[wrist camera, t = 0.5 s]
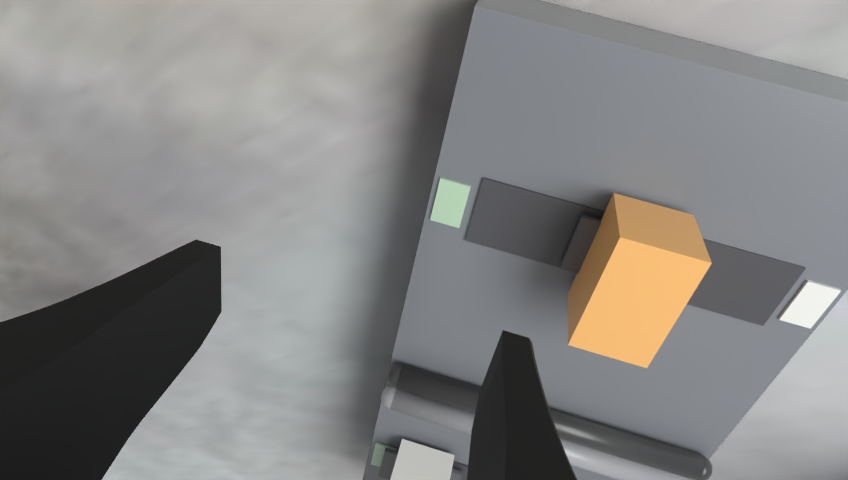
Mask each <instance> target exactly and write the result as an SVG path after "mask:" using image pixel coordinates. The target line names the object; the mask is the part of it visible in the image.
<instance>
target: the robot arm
mask: <svg viewBox="0 0 848 480" xmlns="http://www.w3.org/2000/svg"><path fill="white" fill-rule="evenodd" d="M220 313H221V247H219V246H216V245H213V244H209V243H206V242H202V241H199V240H195V241H192V242H190V243H188V244H186V245H184V246H182V247H179V248H177V249H175V250H173V251H171V252H169V253H167V254H165V255H163V256H161V257H159V258H157V259H155V260H153V261H151V262H149V263H147V264H145V265H143V266H140V267H138V268H136V269H134V270H132V271H130V272H128V273H126V274H124V275H121V276H119V277H117V278H115V279H113V280H111V281H108V282H106V283H104V284H101V285H99V286H97V287H94V288H92V289H90V290H87V291H85V292H83V293H80V294H78V295H76V296H73V297H71V298H69V299H66V300H64V301H61V302H58V303H56V304H53V305H50V306H48V307H45V308H42V309H40V310H37V311H34V312H31V313H28V314H25V315H22V316H19V317H16V318H13V319H10V320H7V321H4V322H0V480H102V478H103V476H104V475H105V473H106V472H107V470H108V469H109V467H110V466H111V464H112V463H113V461H114V459H115V458H116V456H117V455H118V453H119V452H120V450H121V449H122V447H123V446H124V444H125V443H126V441H127V439H128V438H129V437H130V435H131V434H132V433H133V431H134V430H135V429H136V427H137V426H138V424H139V423H140V422H141V420H142V419H143V418H144V417H145V415H146V414H147V413H148V412H149V411H150V409H151V408H152V407H153V406H154V404H155V403H156V402H157V401H158V399H159V398H160V397H161V396H162V394H163V393H164V392H165V391H166V389H167V388H168V387H169V386H170V384H171V383H172V382H173V381H174V379H175V378H176V377H177V376H178V374H179V373H180V372H181V371H182V369H183V368H184V367H185V366H186V364H187V363H188V362H189V361H190V359H191V358H192V357H193V355H194V354H195V353H196V352H197V350H198V349H199V348H200V346H201V345H202V343H203V341H204V340H205V338H206V337H207V335H208V333H209V332H210V330H211V328H212V327H213V325H214V323H215V322H216V320H217V318H218V316H219V315H220ZM467 480H577V478H576V476H575V473H574V471H573V469H572V467H571V464H570V462H569V460H568V457H567V455H566V452H565V450H564V447H563V445H562V442H561V440H560V437H559V435H558V432H557V429H556V427H555V424H554V421H553V418H552V415H551V412H550V409H549V406H548V403H547V400H546V397H545V394H544V390H543V387H542V383H541V379H540V376H539V372H538V368H537V364H536V360H535V355H534V350H533V345H532V342H531V340H530V338H528V337H525V336H521V335H518V334H514V333H511V332H508V331H504V330H503V331H502V334H501V336H500V339H499V341H498V344H497V347H496V349H495V352H494V355H493V357H492V360H491V362H490V365H489V368H488V370H487V373H486V376H485V378H484V381H483V383H482V386H481V389H480V393H479V397H478V402H477V407H476V411H475V416H474V421H473V426H472V432H471V442H470V452H469V462H468V473H467Z"/></svg>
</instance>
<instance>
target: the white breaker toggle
mask: <svg viewBox="0 0 848 480" xmlns="http://www.w3.org/2000/svg"><path fill="white" fill-rule="evenodd" d="M454 456H455V455H453V454H449V453H446V452H443V451H440V450H436V449H433V448H430V447H427V446H424V445H420V444H417V443H414V442H411V441H408V440H404V439H402V441H401V444H400V448H399V451H396V450H393V449H390V448H385V451H384V455H383V459H382V463H381V467H380V471H379V474H378V476H379V477H382V478H385V479H388V480H460V479H461V477H462V473H463V471H460V470H457V469H453V468H452V467H453V461H454Z"/></svg>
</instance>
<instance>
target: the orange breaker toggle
mask: <svg viewBox="0 0 848 480" xmlns="http://www.w3.org/2000/svg"><path fill="white" fill-rule="evenodd" d="M711 264H712V262H711V259H710V257H709V254H708V251H707V249H706V246H705V243H704V241H703V238H702V235H701V233H700V230H699V227H698V225H697V222H696V219H695V217H694V215H692V214H688V213H685V212H681V211H677V210H674V209H670V208H667V207H663V206H659V205H656V204H652V203H649V202H645V201H641V200H638V199H634V198H631V197H627V196H623V195H620V194H616V193H613V195H612V197H611V199H610V202H609V204H608V206H607V208H606V210H605V213H604V215H603V217H602V219H601V220H600V219H596V218H593V217H589V216H586V215H581V217H580V220H579V222H578V224H577V227H576V229H575V231H574V234H573V236H572V238H571V241H570V243H569V245H568V248H567V250H566V253H565V255H564V257H563V260H562V262H561V264H560V269H563V270H567V271H570V272H574V273H577V275H576V277H575V279H574V281H573V284H572V286H571V288H570V290H569V292H568V345H570V346H573V347H576V348H580V349H583V350H587V351H590V352H593V353H597V354H600V355H603V356H607V357H610V358H614V359H617V360H620V361H624V362H627V363H631V364H634V365H637V366H641V367H644V368H647V367H648V366H649V364H650V363H651V361H652V359H653V358H654V356H655V354H656V353H657V351H658V350H659V348H660V346H661V345H662V343H663V342H664V340H665V338H666V337H667V335H668V333H669V332H670V330H671V329H672V327H673V325H674V324H675V322H676V320H677V319H678V317H679V316H680V314H681V312H682V311H683V309H684V308H685V306H686V304H687V303H688V301H689V299H690V298H691V296H692V295H693V293H694V291H695V290H696V288H697V287H698V285H699V283H700V282H701V280H702V278H703V277H704V275H705V274H706V272H707V270H708V269H709V267H710V265H711Z"/></svg>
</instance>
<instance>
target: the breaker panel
mask: <svg viewBox="0 0 848 480" xmlns="http://www.w3.org/2000/svg"><path fill="white" fill-rule="evenodd" d="M613 193H616V194H620V195H623V196H627V197H631V198H634V199H638V200H641V201H645V202H649V203H652V204H656V205H659V206H663V207H667V208H670V209H674V210H677V211H681V212H685V213H688V214H692V215H694V217H695V219H696V222H697V225H698V227H699V230H700V233H701V235H702V238H703V241H704V243H705V246H706V249H707V251H708V254H709V257H710V259H711V262H712V264H711V265H710V267H709V269H708V270H707V272H706V274H705V275H704V277H703V278H702V280H701V282H700V283H699V285H698V287H697V288H696V290H695V291H694V293H693V295H692V296H691V298H690V299H689V301H688V303H687V304H686V306H685V308H684V309H683V311H682V312H681V314H680V316H679V317H678V319H677V320H676V322H675V324H674V325H673V327H672V329H671V330H670V332H669V333H668V335H667V337H666V338H665V340H664V342H663V343H662V345H661V346H660V348H659V350H658V351H657V353H656V354H655V356H654V358H653V359H652V361H651V363H650V364H649V366H648V367H647V368H644V367H641V366H637V365H634V364H631V363H627V362H624V361H620V360H617V359H614V358H610V357H607V356H603V355H600V354H597V353H593V352H590V351H587V350H583V349H580V348H576V347H573V346H570V345H568V292H569V290H570V288H571V286H572V284H573V281H574V279H575V277H576V275H577V273H574V272H570V271H567V270H563V269H560V264H561V262H562V260H563V257H564V255H565V253H566V250H567V248H568V245H569V243H570V241H571V238H572V236H573V234H574V231H575V229H576V227H577V224H578V222H579V220H580V217H581V215H586V216H589V217H593V218H596V219H600V220H601V219H602V217H603V215H604V213H605V210H606V208H607V206H608V204H609V202H610V199H611V197H612V195H613ZM847 290H848V80H846V79H842V78H839V77H835V76H831V75H827V74H823V73H819V72H815V71H811V70H807V69H804V68H800V67H796V66H792V65H788V64H784V63H780V62H776V61H772V60H769V59H765V58H761V57H757V56H753V55H749V54H745V53H741V52H737V51H734V50H730V49H726V48H722V47H718V46H714V45H710V44H706V43H702V42H699V41H695V40H691V39H687V38H683V37H679V36H675V35H671V34H668V33H664V32H660V31H656V30H652V29H648V28H644V27H640V26H636V25H633V24H629V23H625V22H621V21H617V20H613V19H609V18H605V17H601V16H598V15H594V14H590V13H586V12H582V11H578V10H574V9H570V8H566V7H563V6H559V5H555V4H551V3H547V2H543V1H539V0H478V2H477V3H476V5H475V7H474V11H473V16H472V20H471V24H470V28H469V33H468V37H467V41H466V45H465V49H464V54H463V58H462V62H461V66H460V71H459V75H458V79H457V83H456V87H455V92H454V96H453V100H452V104H451V109H450V113H449V117H448V121H447V126H446V130H445V134H444V138H443V142H442V147H441V151H440V155H439V159H438V164H437V168H436V172H435V176H434V180H433V185H432V189H431V193H430V197H429V202H428V206H427V210H426V214H425V218H424V223H423V227H422V231H421V235H420V240H419V244H418V248H417V252H416V257H415V261H414V265H413V269H412V273H411V278H410V282H409V286H408V290H407V295H406V299H405V303H404V307H403V311H402V316H401V320H400V324H399V328H398V333H397V337H396V341H395V345H394V350H393V354H392V358H391V362H390V366H389V369H388V371H387V375H386V378H387V379H386V383H385V388H384V390H383V392H382V396H381V399H382V400H381V404H380V409H379V413H378V417H377V421H376V426H375V430H374V434H373V438H372V442H371V447H370V451H369V455H368V459H367V464H366V468H365V472H364V476H363V480H388V479H385V478H382V477H379V476H378V474H379V471H380V467H381V463H382V459H383V455H384V451H385V448H390V449H393V450H396V451H399V448H400V444H401V441H402V439H404V440H408V441H411V442H414V443H417V444H420V445H424V446H427V447H430V448H433V449H436V450H440V451H443V452H446V453H449V454H453V455H455V456H454V461H453V467H452V468H453V469H457V470H460V471H463V473H462V477H461V479H460V480H467V473H468V462H469V452H470V442H471V432H472V426H473V421H474V416H475V411H476V407H477V402H478V397H479V393H480V389H481V386H482V383H483V381H484V378H485V376H486V373H487V370H488V368H489V365H490V362H491V360H492V357H493V355H494V352H495V349H496V347H497V344H498V341H499V339H500V336H501V334H502V331H503V330H504V331H508V332H511V333H514V334H518V335H521V336H525V337H528V338H530V340H531V342H532V345H533V350H534V355H535V360H536V364H537V368H538V372H539V376H540V379H541V383H542V387H543V390H544V394H545V397H546V400H547V403H548V406H549V409H550V412H551V415H552V418H553V421H554V424H555V427H556V429H557V432H558V435H559V437H560V440H561V442H562V445H563V447H564V450H565V452H566V455H567V457H568V460H569V462H570V464H571V467H572V469H573V471H574V473H575V476H576V478H577V480H707V479H708V478H709V477H710V476H711V474H712V465H711V462H710V461H709V460H708V459H709V458H710V457H711V456H712V455H713V453H714V452H715V451H716V450H717V448H718V447H719V446H720V445H721V444H722V442H723V441H724V440H725V439H726V437H727V436H728V435H729V434H730V433H731V431H732V430H733V429H734V428H735V426H736V425H737V424H738V423H739V422H740V420H741V419H742V418H743V417H744V415H745V414H746V413H747V412H748V411H749V409H750V408H751V407H752V406H753V404H754V403H755V402H756V401H757V400H758V398H759V397H760V396H761V395H762V393H763V392H764V391H765V390H766V389H767V387H768V386H769V385H770V384H771V383H772V381H773V380H774V379H775V378H776V376H777V375H778V374H779V373H780V372H781V370H782V369H783V368H784V367H785V365H786V364H787V363H788V362H789V361H790V359H791V358H792V357H793V356H794V354H795V353H796V352H797V351H798V350H799V348H800V347H801V346H802V345H803V343H804V342H805V341H806V340H807V339H808V337H809V336H810V335H811V334H812V332H813V331H814V330H815V329H816V328H817V326H818V325H819V324H820V323H821V321H822V320H823V319H824V318H825V317H826V315H827V314H828V313H829V312H830V310H831V309H832V308H833V307H834V306H835V304H836V303H837V302H838V301H839V299H840V298H841V297H842V296H843V295H844V293H845V292H846V291H847Z"/></svg>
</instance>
